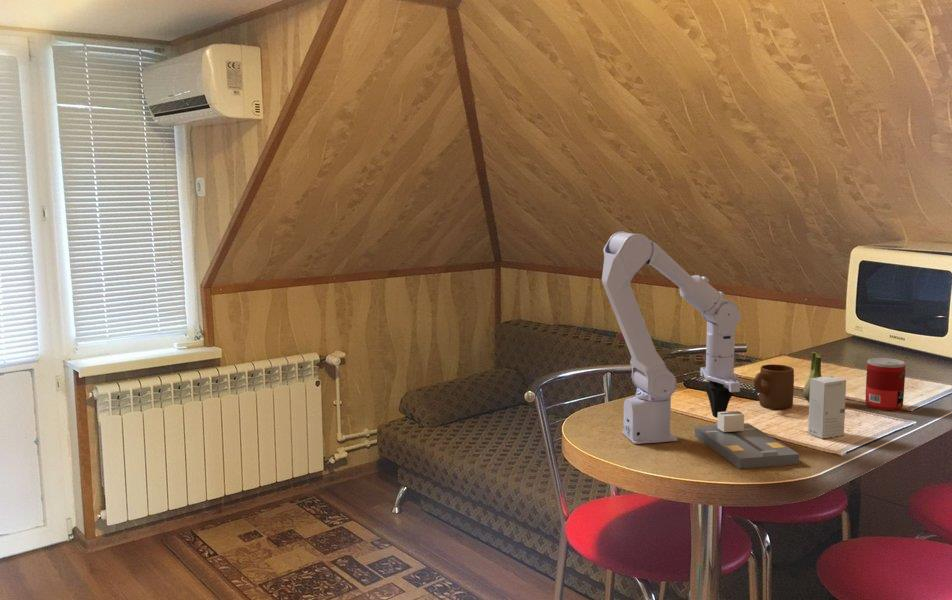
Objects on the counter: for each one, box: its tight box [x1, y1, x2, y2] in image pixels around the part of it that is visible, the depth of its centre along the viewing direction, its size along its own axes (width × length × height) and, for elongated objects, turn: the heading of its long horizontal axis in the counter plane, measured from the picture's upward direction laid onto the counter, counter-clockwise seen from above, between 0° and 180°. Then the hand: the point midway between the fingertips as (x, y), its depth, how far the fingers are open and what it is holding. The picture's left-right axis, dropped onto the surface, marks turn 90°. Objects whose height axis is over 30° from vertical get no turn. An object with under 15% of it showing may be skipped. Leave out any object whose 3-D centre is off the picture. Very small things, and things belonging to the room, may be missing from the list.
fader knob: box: [716, 410, 745, 432], centre depth 164 cm, size 4×3×4 cm
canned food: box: [864, 357, 906, 412], centre depth 185 cm, size 8×8×11 cm
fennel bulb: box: [802, 351, 823, 402], centre depth 191 cm, size 6×5×12 cm
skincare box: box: [807, 375, 847, 439], centre depth 166 cm, size 6×4×12 cm
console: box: [694, 421, 800, 470], centre depth 159 cm, size 12×20×3 cm, turn 9°
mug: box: [753, 363, 795, 411], centre depth 186 cm, size 12×8×9 cm, turn 124°
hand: (718, 416), depth 170 cm, fingers closed
